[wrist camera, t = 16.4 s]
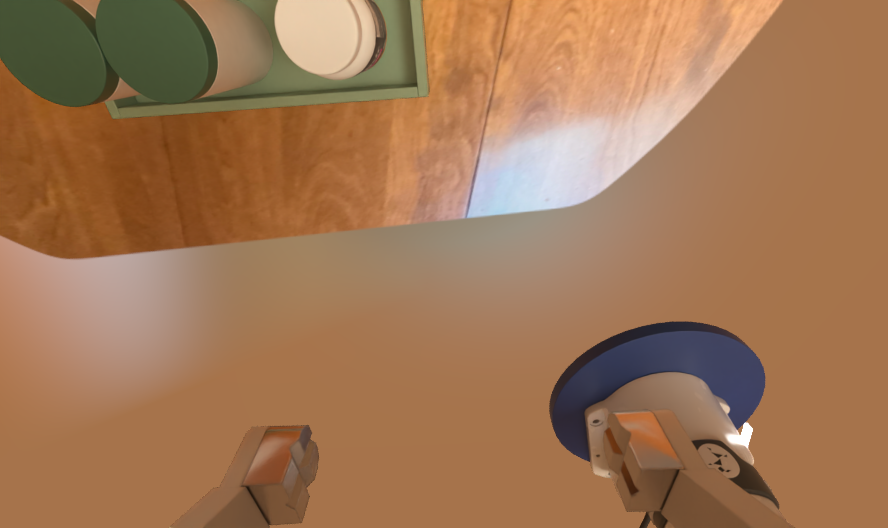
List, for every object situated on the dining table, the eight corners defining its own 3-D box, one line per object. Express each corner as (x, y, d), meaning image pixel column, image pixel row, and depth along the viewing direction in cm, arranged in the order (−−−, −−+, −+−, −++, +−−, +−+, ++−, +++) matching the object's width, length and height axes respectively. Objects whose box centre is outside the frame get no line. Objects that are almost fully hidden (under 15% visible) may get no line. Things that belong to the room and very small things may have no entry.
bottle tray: (418, -53, 28) (416, -61, 25) (429, 91, 33) (428, 96, 30) (76, -24, 29) (39, -30, 26) (137, 112, 33) (112, 119, 31)
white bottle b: (210, 84, 32) (125, 103, 23) (140, 89, 32) (30, 110, 24) (180, -3, 29) (69, -18, 20) (102, 3, 29) (-40, -9, 20)
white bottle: (280, 85, 32) (221, 104, 23) (208, 84, 32) (122, 103, 23) (263, -2, 29) (188, -17, 20) (183, -3, 29) (74, -19, 20)
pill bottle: (344, 85, 32) (308, 104, 23) (299, 14, 29) (240, 6, 21) (402, 47, 31) (386, 53, 22) (360, -32, 28) (324, -59, 19)
